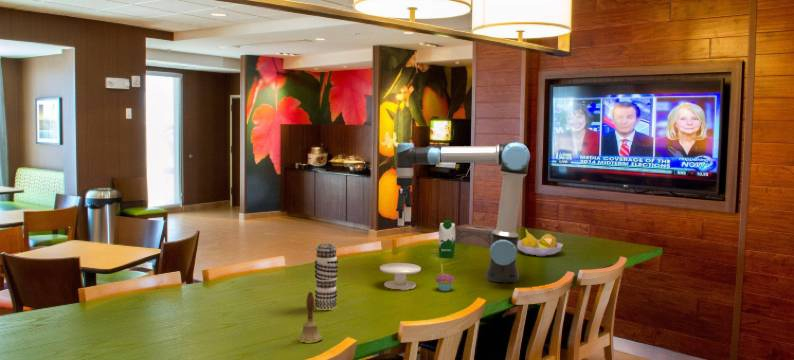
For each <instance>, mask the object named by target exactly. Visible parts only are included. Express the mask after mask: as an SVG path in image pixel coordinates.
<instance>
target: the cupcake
mask: <svg viewBox="0 0 794 360" xmlns="http://www.w3.org/2000/svg"><path fill="white" fill-rule="evenodd" d="M443 268H444V267H443V263H440V269H441V273H440V274H438V275H437V276H435V283H437V285H438V290H439V291H440V290H441V291H440V292H449V291H451V289H452V286H453V285H454V284H455V282H456V279H455V277H454V276H453V275H452V274H451V273H444V269H443Z"/></svg>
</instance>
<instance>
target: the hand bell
mask: <svg viewBox="0 0 794 360" xmlns="http://www.w3.org/2000/svg"><path fill="white" fill-rule="evenodd" d="M305 302H306V309H307V321H306V322H304V324H303V327H302V332H301V334H300V337H299V336H298V338H300V339H301V340H304V341H316V340H319V339H321V338H323V336H322V335H321V334H320V333H319V329H318V324H317V323H316V322H315V321H314V319H313V318H314V316H313V312H314V308H315V297H314V294H313V292H312V291H309V292H308V294H307V297H306V301H305Z"/></svg>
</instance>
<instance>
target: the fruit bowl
mask: <svg viewBox="0 0 794 360" xmlns="http://www.w3.org/2000/svg"><path fill="white" fill-rule="evenodd" d="M524 231H525V237H524V238H522V239H520V240H519V239H518V245H517V250H519V251H520V252H522V253H524V254H525V255H528V254H529V256H534V255H536V256H535V257H547V255H548V256H553V255H555V254H557V253H559V252H561V251H562V247H563V243H560V242H559V241H558V242H557V239H556V237H555V236H554V235H552V234H551V233H545V234H544V235H542V236H541V237H540V239H537V238H536V237H535V236H534V235H533V234H531V233H530V232H529V231H528V229H525V230H524Z"/></svg>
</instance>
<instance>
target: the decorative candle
mask: <svg viewBox="0 0 794 360" xmlns="http://www.w3.org/2000/svg"><path fill="white" fill-rule="evenodd" d="M315 250H316V256H315V260H314V269H315V270H314V273H315V274H314V279H315V282H316V286H315V291H314V296H315V297H314V307H317V308H319V309H333V308H335V306H336V307H337V305H338V303H337V301H338V299H337V297H338V295H337V293H338V291H337V281H336V280H338V275H337V274H336V273H337V272H339V271H338V268H339V266H338V265H337V264H338V263H339V261H338V258H337V250H338V248H337V247H336V246H335V245H334V244H333V243H321V244H319V245H318V246H317V247H316V248H315Z"/></svg>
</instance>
